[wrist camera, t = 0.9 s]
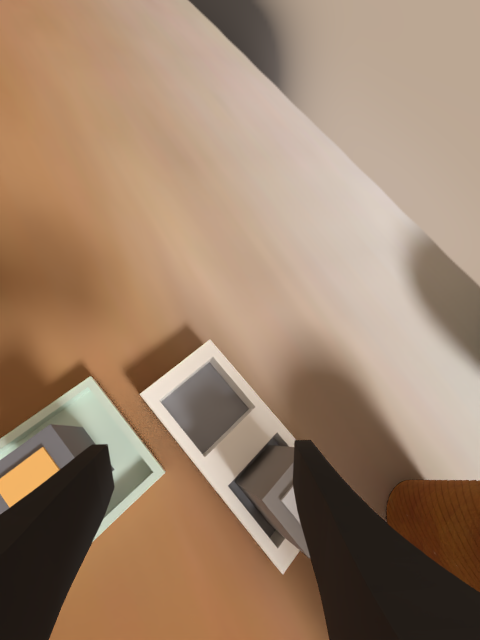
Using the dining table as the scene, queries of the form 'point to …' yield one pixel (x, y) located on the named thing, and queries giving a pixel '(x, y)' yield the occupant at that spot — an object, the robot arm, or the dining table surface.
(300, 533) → the twin plug
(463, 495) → the disposable coffee cup
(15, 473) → the plug
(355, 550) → the robot arm
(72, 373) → the dining table surface
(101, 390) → the tray
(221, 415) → the strip
